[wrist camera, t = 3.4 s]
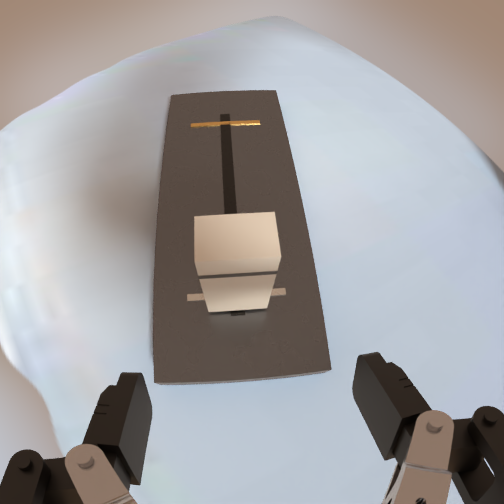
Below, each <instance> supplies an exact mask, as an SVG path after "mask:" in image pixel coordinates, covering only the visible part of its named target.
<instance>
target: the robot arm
mask: <svg viewBox="0 0 504 504" xmlns="http://www.w3.org/2000/svg"><path fill="white" fill-rule="evenodd" d="M352 390H353V397H354V400H355V402H356V404H357V406H358V408H359V410H360V412H361V414H362V416H363V418H364V420H365V422H366V424H367V426H368V428H369V430H370V432H371V434H372V436H373V438H374V440H375V442H376V444H377V446H378V448H379V450H380V452H381V454H382V456H383V458H384V460H388V459H392V458H396V460H397V462H398V463H397V465H396V467H395V470H394V472H393V475H392V478H391V481H390V483H389V486H388V489H387V491H386V494H385V497H384V499H383V502H382V504H446V501H447V497H448V492H449V487H450V482H451V478H452V480H453V482H454V484H455V486H456V488H457V490H458V492H459V494H460V496H461V498H462V500H463V502H464V504H504V414H503V413H502V412H501V411H500V410H499V409H497V408H495V407H491V406H483V407H480V408H478V409H477V410H476V411H475V413H474V415H473V417H472V418H468V419H457V420H452V419H451V417H450V416H448V415H447V414H446V413H444V412H441V411H437V410H432V409H431V408H430V407H429V405H428V404H427V402H426V401H425V400H424V398H423V397H422V396H421V394H420V393H419V391H418V390H417V389H416V387H415V386H413V383H412V382H411V381H410V379H408V377H407V375H406V374H405V372H404V371H403V370H402V369H401V368H400V367H398V366H397V365H395V364H394V363H392V362H389V363H386V361H385V360H384V359H383V357H382V356H381V354H380V353H379V352H374V353H369V354H363V355H359V356H358V358H357V363H356V369H355V375H354V380H353V387H352ZM151 420H152V404H151V400H150V397H149V394H148V390H147V387H146V384H145V380H144V377H143V374H142V373H127V372H122V373H121V374H120V377H119V380H118V382H117V385H109V386H108V387H107V388H106V389H105V390H104V391H103V392H102V393H101V395H100V398H99V400H98V403H97V406H96V408H95V410H94V414H93V416H92V418H91V421H90V424H89V426H88V429H87V432H86V435H85V437H84V440H83V443H82V445H78V446H76V447H74V448H72V449H71V450H70V451H69V452H68V453H67V455H66V457H63V458H56V459H44V460H43V458H42V457H41V456H40V454H39V453H37V452H36V451H33V450H21V451H19V452H17V453H16V454H14V455H13V456H12V458H11V459H10V461H9V464H8V466H7V469H6V471H5V474H4V476H3V479H2V482H1V484H0V504H137V503H136V501H135V500H134V499H133V497H132V496H131V495H130V493H129V488H130V484H133V485H140V483H141V477H142V471H143V465H144V459H145V453H146V447H147V441H148V436H149V431H150V425H151ZM484 458H485V459H486V461H487V462H488V464H489V466H490V467H491V469H492V470H493V472H494V475H493V474H492V472H491V470H490V469H489V467H488V465H487V464H486V462H485V461H484ZM494 476H495V477H494Z"/></svg>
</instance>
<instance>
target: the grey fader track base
mask: <svg viewBox="0 0 504 504" xmlns="http://www.w3.org/2000/svg"><path fill="white" fill-rule="evenodd" d="M261 212H275V217H276V224H277V231H278V238H279V244H280V251H281V260H280V263H279V267H278V272H277V274H276V278H275V281H274V285H273V289H272V292H271V296H270V299H269V303H268V306H267V308H263V309H250V310H235V311H219V312H208V308H207V305H206V301H205V298H204V294H203V291H202V287H201V284H200V280H199V278H198V273H197V269H196V266H195V259H194V216H208V215H224V214H242V213H261ZM153 352H154V383H157V384H160V385H188V384H215V383H232V382H246V381H258V380H269V379H279V378H288V377H296V376H304V375H312V374H319V373H325V372H327V371H329V370H331V363H330V356H329V349H328V342H327V336H326V329H325V323H324V316H323V310H322V304H321V298H320V292H319V287H318V281H317V275H316V270H315V264H314V259H313V253H312V248H311V243H310V238H309V233H308V228H307V223H306V218H305V213H304V208H303V203H302V199H301V194H300V189H299V185H298V180H297V176H296V171H295V167H294V162H293V158H292V154H291V149H290V145H289V141H288V137H287V132H286V128H285V124H284V120H283V116H282V112H281V108H280V104H279V101H278V97H277V93H276V90H249V91H220V92H203V93H190V94H179V95H172V96H171V102H170V109H169V115H168V122H167V130H166V137H165V145H164V153H163V162H162V171H161V181H160V192H159V203H158V216H157V230H156V247H155V268H154V303H153Z"/></svg>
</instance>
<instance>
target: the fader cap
mask: <svg viewBox="0 0 504 504" xmlns="http://www.w3.org/2000/svg"><path fill="white" fill-rule="evenodd" d="M194 259H195V266H196V269H197V273H198V278H199V280H200V284H201V287H202V291H203V294H204V298H205V301H206V305H207V308H208V312H219V311H235V310H250V309H263V308H267V306H268V303H269V299H270V296H271V292H272V289H273V285H274V281H275V278H276V274H277V272H278V267H279V263H280V260H281V251H280V244H279V238H278V231H277V224H276V217H275V212H261V213H242V214H224V215H208V216H194Z"/></svg>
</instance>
